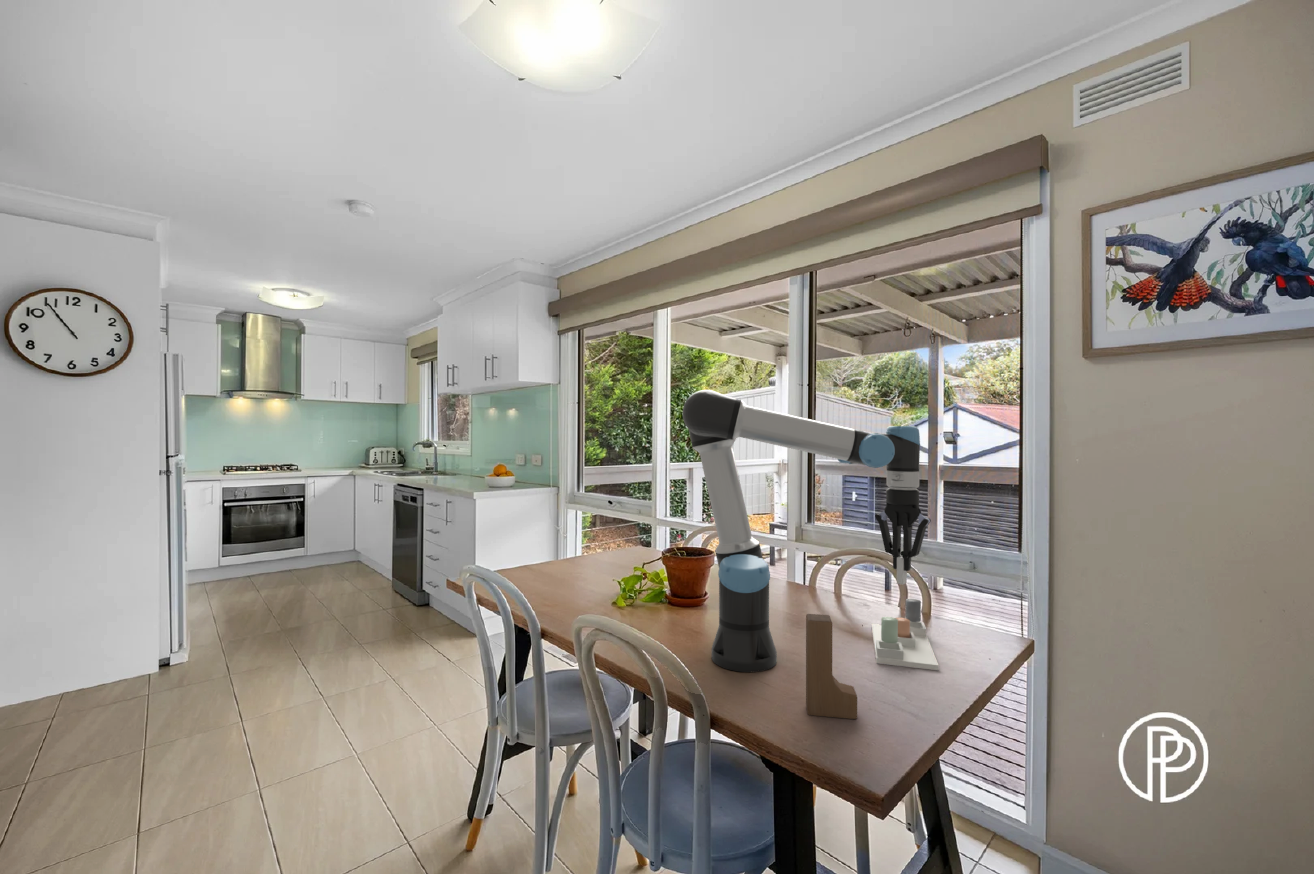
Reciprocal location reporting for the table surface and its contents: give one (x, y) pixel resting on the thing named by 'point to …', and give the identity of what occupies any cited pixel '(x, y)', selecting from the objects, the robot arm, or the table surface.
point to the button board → (906, 649)
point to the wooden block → (825, 674)
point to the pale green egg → (889, 629)
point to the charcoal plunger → (913, 610)
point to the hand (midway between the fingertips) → (901, 582)
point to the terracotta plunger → (903, 627)
